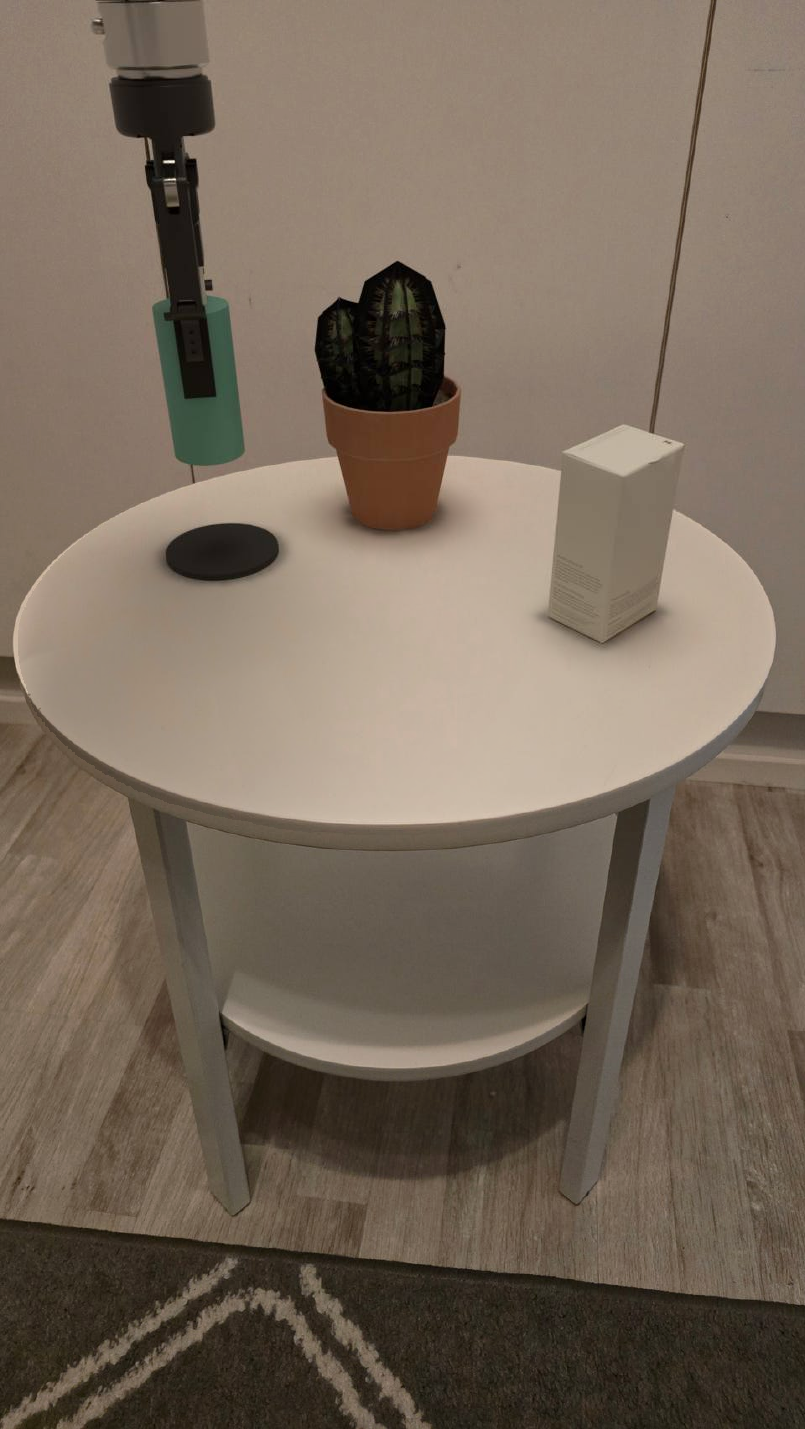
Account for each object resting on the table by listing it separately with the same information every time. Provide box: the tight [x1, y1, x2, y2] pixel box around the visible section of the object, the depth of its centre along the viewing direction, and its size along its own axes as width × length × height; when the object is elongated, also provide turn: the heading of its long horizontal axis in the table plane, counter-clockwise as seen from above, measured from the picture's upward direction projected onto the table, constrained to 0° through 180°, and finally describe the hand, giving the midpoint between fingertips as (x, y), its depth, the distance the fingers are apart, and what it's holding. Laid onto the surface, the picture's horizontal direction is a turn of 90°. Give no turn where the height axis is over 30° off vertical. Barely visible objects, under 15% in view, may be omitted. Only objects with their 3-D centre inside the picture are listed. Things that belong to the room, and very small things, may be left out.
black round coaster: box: [164, 522, 280, 581], centre depth 97 cm, size 11×11×1 cm
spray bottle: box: [151, 200, 246, 467], centre depth 84 cm, size 7×6×21 cm
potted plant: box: [314, 260, 462, 531], centre depth 96 cm, size 14×14×25 cm
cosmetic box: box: [547, 424, 685, 644], centre depth 82 cm, size 8×7×16 cm
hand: (200, 382), depth 87 cm, fingers closed on spray bottle, 6 cm apart
